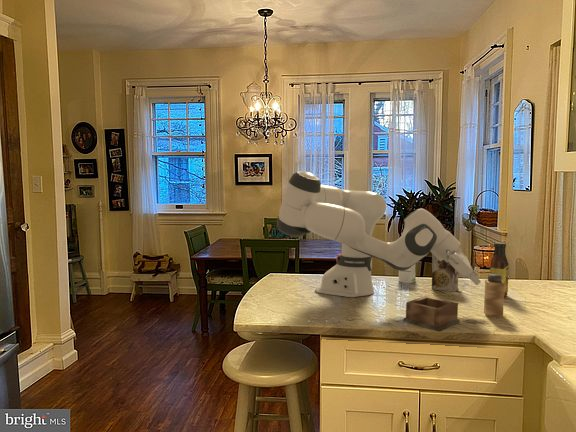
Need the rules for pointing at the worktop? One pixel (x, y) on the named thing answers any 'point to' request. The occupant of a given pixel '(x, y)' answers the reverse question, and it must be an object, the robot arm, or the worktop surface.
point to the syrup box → (408, 275)
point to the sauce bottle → (500, 264)
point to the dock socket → (432, 313)
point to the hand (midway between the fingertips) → (477, 280)
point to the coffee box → (443, 275)
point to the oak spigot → (494, 296)
